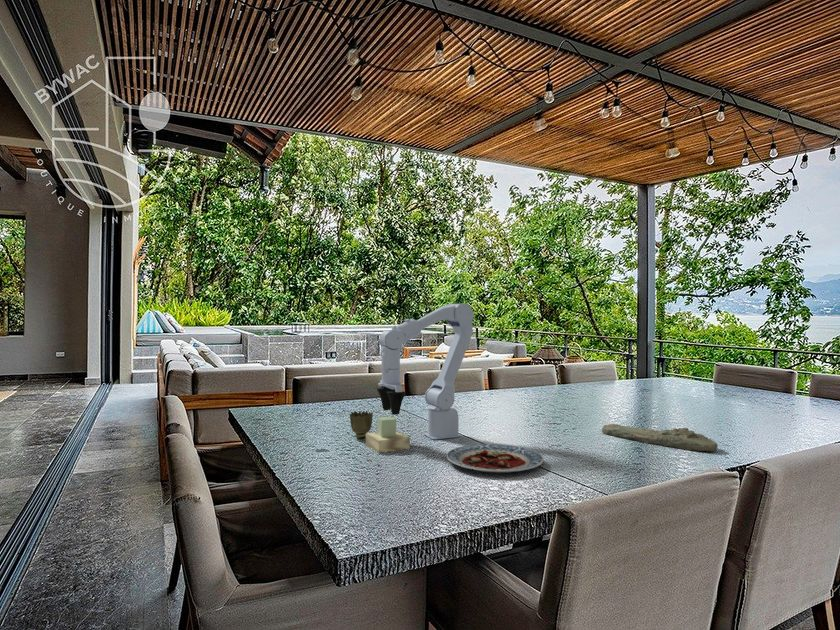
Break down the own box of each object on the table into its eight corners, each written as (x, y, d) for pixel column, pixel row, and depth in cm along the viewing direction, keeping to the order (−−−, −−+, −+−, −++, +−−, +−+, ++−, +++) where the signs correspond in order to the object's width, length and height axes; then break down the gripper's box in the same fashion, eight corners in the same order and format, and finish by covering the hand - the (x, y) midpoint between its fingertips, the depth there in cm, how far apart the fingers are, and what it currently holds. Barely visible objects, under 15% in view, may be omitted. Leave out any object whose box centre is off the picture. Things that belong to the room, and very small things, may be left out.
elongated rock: (611, 434, 182) (596, 440, 175) (609, 419, 182) (595, 425, 175) (723, 448, 156) (711, 456, 149) (721, 430, 156) (709, 437, 149)
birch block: (395, 442, 165) (395, 430, 165) (409, 450, 156) (409, 436, 156) (365, 446, 161) (365, 433, 161) (378, 454, 152) (378, 440, 152)
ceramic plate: (522, 486, 124) (522, 473, 124) (428, 468, 138) (428, 457, 138) (556, 459, 146) (556, 449, 146) (472, 447, 160) (472, 437, 160)
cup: (368, 441, 166) (368, 415, 165) (346, 440, 167) (346, 414, 167) (375, 435, 173) (375, 411, 173) (354, 434, 174) (354, 410, 174)
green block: (391, 432, 162) (391, 416, 162) (396, 436, 157) (396, 419, 157) (377, 433, 160) (377, 417, 160) (381, 437, 156) (381, 420, 156)
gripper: (371, 366, 169) (371, 409, 169) (386, 371, 156) (387, 417, 156) (391, 365, 172) (391, 407, 172) (408, 370, 159) (409, 415, 159)
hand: (391, 412), depth 164 cm, fingers open, 7 cm apart
